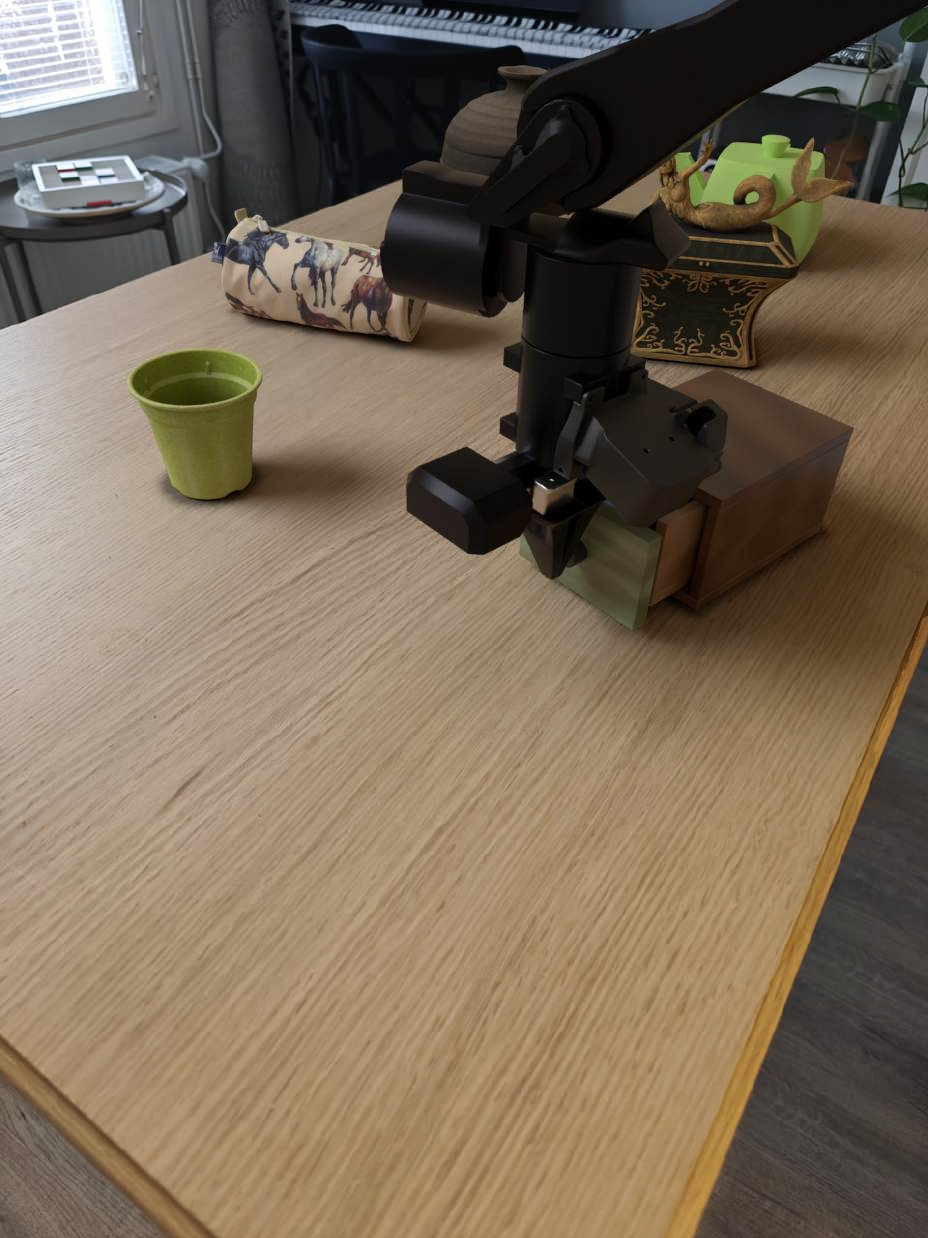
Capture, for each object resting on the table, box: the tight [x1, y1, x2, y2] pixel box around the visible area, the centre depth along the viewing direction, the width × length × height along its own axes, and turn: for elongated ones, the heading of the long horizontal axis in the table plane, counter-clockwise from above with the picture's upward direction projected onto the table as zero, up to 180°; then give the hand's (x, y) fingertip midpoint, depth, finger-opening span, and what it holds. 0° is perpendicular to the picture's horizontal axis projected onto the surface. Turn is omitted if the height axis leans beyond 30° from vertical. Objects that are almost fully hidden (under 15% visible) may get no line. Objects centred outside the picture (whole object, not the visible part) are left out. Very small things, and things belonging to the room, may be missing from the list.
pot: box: [439, 64, 574, 217], centre depth 107 cm, size 18×18×20 cm
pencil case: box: [210, 207, 428, 343], centre depth 92 cm, size 22×8×10 cm, turn 70°
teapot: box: [675, 134, 826, 264], centre depth 111 cm, size 18×20×13 cm
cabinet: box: [669, 367, 855, 611], centre depth 65 cm, size 15×12×9 cm
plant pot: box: [126, 347, 263, 500], centre depth 69 cm, size 9×9×9 cm
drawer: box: [518, 497, 710, 632], centre depth 62 cm, size 15×10×7 cm
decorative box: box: [630, 137, 854, 369], centre depth 86 cm, size 20×10×20 cm, turn 80°
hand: (550, 575), depth 58 cm, fingers closed
